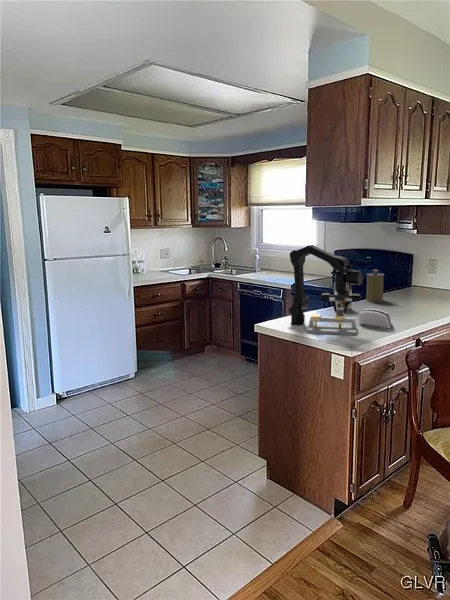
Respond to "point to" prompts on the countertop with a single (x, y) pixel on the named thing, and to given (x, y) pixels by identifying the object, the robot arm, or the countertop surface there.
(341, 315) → the block
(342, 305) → the coffee box
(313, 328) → the plate
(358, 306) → the countertop surface
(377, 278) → the canister
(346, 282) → the robot arm
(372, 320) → the white curved block
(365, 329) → the countertop surface
